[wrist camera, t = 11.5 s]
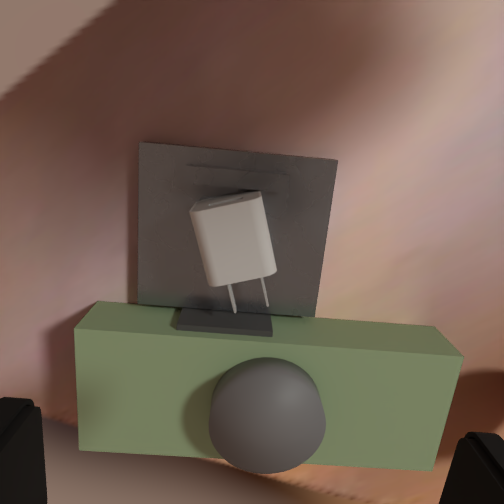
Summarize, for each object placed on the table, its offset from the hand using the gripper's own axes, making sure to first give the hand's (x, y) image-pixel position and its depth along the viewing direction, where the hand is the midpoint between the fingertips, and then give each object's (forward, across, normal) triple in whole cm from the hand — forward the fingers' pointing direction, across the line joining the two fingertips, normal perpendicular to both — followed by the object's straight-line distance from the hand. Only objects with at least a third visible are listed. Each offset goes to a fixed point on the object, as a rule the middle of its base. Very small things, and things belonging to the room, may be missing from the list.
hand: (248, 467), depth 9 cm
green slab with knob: (+18, -2, +9) cm, 21 cm away
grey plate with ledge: (+18, +1, 0) cm, 18 cm away
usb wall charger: (+18, 0, 0) cm, 18 cm away
